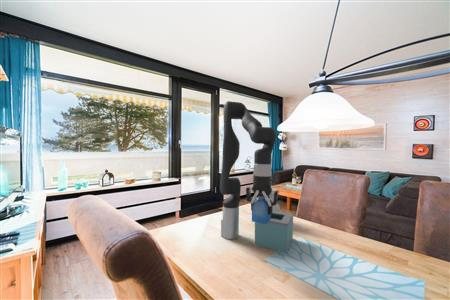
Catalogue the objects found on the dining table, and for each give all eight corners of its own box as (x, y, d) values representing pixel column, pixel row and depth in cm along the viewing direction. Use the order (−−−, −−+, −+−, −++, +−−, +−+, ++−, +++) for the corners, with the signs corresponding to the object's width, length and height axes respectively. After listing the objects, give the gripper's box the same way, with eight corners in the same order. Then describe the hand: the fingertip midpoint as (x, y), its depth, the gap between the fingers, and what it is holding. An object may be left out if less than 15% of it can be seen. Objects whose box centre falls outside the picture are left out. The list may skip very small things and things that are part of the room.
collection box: (254, 244, 108) (254, 218, 107) (263, 232, 122) (264, 209, 122) (287, 252, 100) (287, 224, 100) (292, 238, 115) (293, 213, 114)
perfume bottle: (270, 219, 89) (271, 192, 89) (265, 224, 84) (266, 195, 84) (257, 216, 92) (257, 190, 92) (251, 221, 87) (252, 193, 87)
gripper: (281, 174, 88) (280, 213, 88) (249, 171, 94) (248, 207, 95) (277, 177, 81) (276, 219, 82) (243, 173, 87) (242, 212, 88)
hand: (261, 212), depth 88 cm, fingers closed on perfume bottle, 6 cm apart
